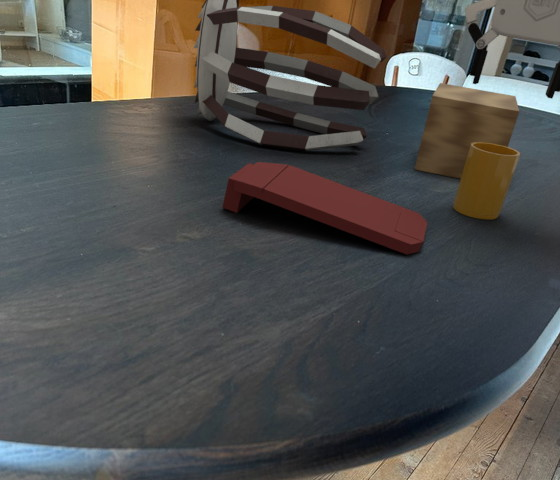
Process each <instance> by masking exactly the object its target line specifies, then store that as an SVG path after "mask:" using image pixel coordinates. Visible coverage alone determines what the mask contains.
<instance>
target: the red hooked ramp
mask: <svg viewBox="0 0 560 480" xmlns="http://www.w3.org/2000/svg"><path fill="white" fill-rule="evenodd" d="M254 198H256V199H260V200H262V201H264V202H266V203H269V204H272V205H274V206H276V207H280V208H282V209H285V210H288V211H291V212H293V213H295V214H298V215H301V216H304V217H306V218H309V219H311V220H314V221H317V222H320V223H322V224H324V225H328V226H330V227H332V228H336V229H338V230H341V231H342V232H346V233H348V234H351V235H354V236H356V237H359V238H362V239H365V240H367V241H370V242H372V243H375V244H377V245H380V246H383V247H386V248H387V249H391V250H394V251H396V252H398V253H401V254H404V255H410V254H415V253H419V252H420V251H421V248H422V246H423V244H424V241H425V238H426V237H425V236H426V232H427V227H428V221H427V220H426V219H425V218H424V217H423V216H422V214H420V213H419V212H417V211H414V210H412V209H408V208H407V207H404V206H400V205H398V204H396V203H392V202H390V201H387V200H384V199H382V198H379V197H377V196H374V195H371V194H368V193H366V192H363V191H360V190H357V189H355V188H352V187H350V186H347V185H344V184H342V183H338V182H336V181H333V180H332V179H328V178H325V177H323V176H320V175H317V174H315V173H312V172H310V171H306V170H304V169H302V168H299V167H296V166H293V165H290V164H286V163H285V164H284V163H275V162H263V161H257V162H255V163H251V162H249V163H247V164H246V165H244V166H243V167H242V168H240V169H239V170H237V171H236V172H235V173H233V174H232V175H231V176H229V177H228V180H227V185H226V188H225V193H224V198H223V201H222V202H223V203H222V208H223V209H225V210H228V211H231V212H233V213H236V214H237V213H239V212H240V211H241V210H242V209H243V208H244V207H245V206H246V205H247V204H249V203H250V201H252V200H253V199H254Z"/></svg>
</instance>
